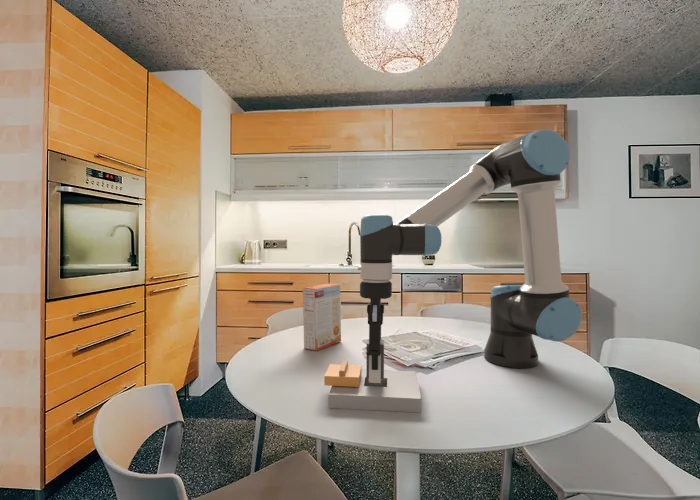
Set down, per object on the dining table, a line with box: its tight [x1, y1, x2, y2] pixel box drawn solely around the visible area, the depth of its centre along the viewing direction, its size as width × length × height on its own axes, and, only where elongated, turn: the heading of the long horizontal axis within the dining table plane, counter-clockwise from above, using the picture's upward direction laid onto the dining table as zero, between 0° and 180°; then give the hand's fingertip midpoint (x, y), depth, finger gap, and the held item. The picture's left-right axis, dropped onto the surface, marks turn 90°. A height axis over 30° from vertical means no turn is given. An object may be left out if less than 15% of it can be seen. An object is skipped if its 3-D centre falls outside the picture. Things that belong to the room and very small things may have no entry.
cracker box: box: [302, 282, 342, 352], centre depth 126 cm, size 14×6×21 cm, turn 144°
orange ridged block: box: [323, 359, 363, 387], centre depth 88 cm, size 8×8×3 cm
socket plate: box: [328, 368, 422, 414], centre depth 87 cm, size 20×16×3 cm
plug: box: [366, 338, 385, 381], centre depth 87 cm, size 4×4×9 cm
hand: (375, 378), depth 87 cm, fingers closed on plug, 4 cm apart
